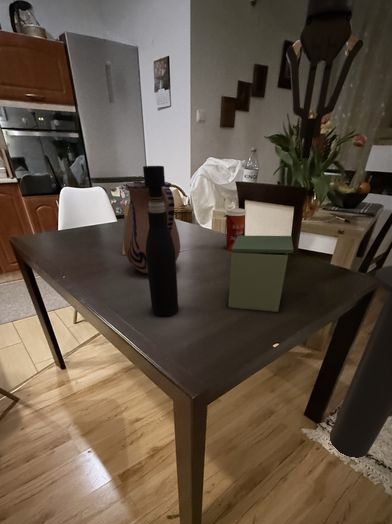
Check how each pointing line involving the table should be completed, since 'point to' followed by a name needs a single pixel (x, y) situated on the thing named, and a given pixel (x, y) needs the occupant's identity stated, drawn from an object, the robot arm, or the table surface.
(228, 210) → the paper cup
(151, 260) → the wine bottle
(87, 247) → the table surface
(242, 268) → the bin
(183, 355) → the table surface
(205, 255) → the table surface
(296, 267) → the table surface
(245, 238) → the bin lid
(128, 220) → the ceramic pitcher
